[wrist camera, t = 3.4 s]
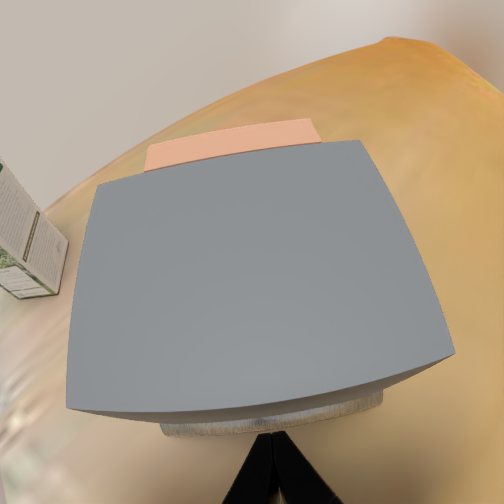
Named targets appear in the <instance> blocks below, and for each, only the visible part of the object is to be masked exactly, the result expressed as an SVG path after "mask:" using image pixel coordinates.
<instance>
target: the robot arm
mask: <svg viewBox="0 0 504 504" xmlns="http://www.w3.org/2000/svg"><path fill="white" fill-rule="evenodd" d="M279 487H280V489H279ZM280 491H281V495H282V499H283V502H284V504H344V503H343V502H342V501H341V500H340V499H339V498H338V496H336V494H335V493H334V492H333V491H332V490H331V488H330V487H329V486H328V485H327V484H326V482H325V481H324V480H323V479H322V478H321V476H320V475H319V474H318V473H317V471H316V470H315V469H314V468H313V467H312V465H311V464H310V463H309V462H308V460H307V459H306V458H305V457H304V455H303V454H302V453H301V451H300V450H299V449H298V448H297V446H296V445H295V444H294V442H293V441H292V440H291V439H290V437H289V436H288V435H287V433H286V432H285V431H278V432H273V433H272V434H271V433H263V434H259V435H258V436H257V438H256V440H255V442H254V444H253V446H252V448H251V450H250V452H249V454H248V456H247V458H246V460H245V462H244V463H243V465H242V467H241V469H240V471H239V473H238V475H237V477H236V479H235V480H234V482H233V484H232V486H231V488H230V490H229V491H228V493H227V495H226V497H225V498H224V500H223V502H222V504H279V501H280Z"/></svg>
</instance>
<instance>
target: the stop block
mask: <svg viewBox="0 0 504 504" xmlns="http://www.w3.org/2000/svg"><path fill="white" fill-rule="evenodd" d="M318 143H321V140H320V138H319V136H318V134H317V132H316V130H315V128H314V126H313V124H312V122H311V120H310V118H307V119H297V120H287V121H278V122H270V123H263V124H255V125H249V126H242V127H236V128H230V129H224V130H218V131H213V132H207V133H202V134H197V135H192V136H187V137H183V138H178V139H174V140H169V141H165V142H161V143H157V144H152V145H149V147H148V152H147V158H146V163H145V168H144V173H146V172H150V171H154V170H159V169H163V168H167V167H172V166H177V165H181V164H186V163H191V162H196V161H201V160H207V159H212V158H217V157H223V156H229V155H235V154H241V153H247V152H254V151H260V150H268V149H275V148H282V147H290V146H299V145H308V144H318Z"/></svg>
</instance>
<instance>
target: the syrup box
mask: <svg viewBox="0 0 504 504" xmlns="http://www.w3.org/2000/svg"><path fill="white" fill-rule="evenodd" d="M68 243H69V242H68V240H67V239H66V238H65V237H64V236H63V235H62V233H61V232H60V231H59V230H58V229H57V228H56V227H55V226H54V225H53V224H52V222H51V221H50V220H49V219H48V218H47V217H46V216H45V214H44V213H43V212H42V211H41V210H40V209H39V207H38V206H37V205H36V204H35V203H34V201H33V200H32V199H31V197H30V196H29V195H28V194H27V192H26V191H25V190H24V188H23V187H22V186H21V185H20V183H19V182H18V181H17V179H16V178H15V177H14V175H13V174H12V173H11V171H10V170H9V168H8V167H7V166H6V164H5V163H4V161H3V160H2V159H1V157H0V287H2V288H3V289H5V290H6V291H7V292H9V293H10V294H11V295H13V296H14V297H16V298H17V299H24V298H30V297H38V296H46V295H54V294H57V293H58V290H59V285H60V281H61V276H62V271H63V266H64V261H65V257H66V252H67V247H68Z"/></svg>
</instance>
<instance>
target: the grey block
mask: <svg viewBox="0 0 504 504" xmlns="http://www.w3.org/2000/svg"><path fill="white" fill-rule="evenodd" d="M454 354H455V349H454V346H453V342H452V339H451V336H450V333H449V330H448V326H447V323H446V320H445V317H444V315H443V312H442V309H441V306H440V303H439V300H438V298H437V295H436V292H435V290H434V287H433V285H432V282H431V279H430V277H429V274H428V272H427V270H426V267H425V265H424V262H423V260H422V258H421V255H420V253H419V251H418V248H417V246H416V244H415V242H414V240H413V237H412V235H411V233H410V231H409V229H408V227H407V225H406V223H405V220H404V218H403V216H402V214H401V212H400V210H399V208H398V206H397V204H396V203H395V201H394V199H393V197H392V195H391V193H390V191H389V189H388V187H387V186H386V184H385V182H384V180H383V178H382V176H381V175H380V173H379V171H378V169H377V168H376V166H375V164H374V162H373V161H372V159H371V157H370V156H369V154H368V152H367V151H366V149H365V147H364V146H363V144H362V142H361V141H360V140H353V141H339V142H328V143H318V144H308V145H299V146H290V147H282V148H275V149H268V150H260V151H254V152H247V153H241V154H235V155H229V156H223V157H217V158H212V159H207V160H201V161H196V162H191V163H186V164H181V165H177V166H172V167H167V168H163V169H159V170H154V171H150V172H146V173H142V174H137V175H133V176H129V177H126V178H122V179H118V180H114V181H110V182H107V183H103V184H100V185H98V186H97V190H96V193H95V197H94V200H93V204H92V208H91V212H90V216H89V220H88V224H87V228H86V232H85V237H84V241H83V246H82V251H81V256H80V261H79V266H78V272H77V278H76V284H75V290H74V297H73V305H72V312H71V321H70V331H69V342H68V356H67V376H66V408H68V409H73V410H77V411H82V412H87V413H92V414H97V415H103V416H109V417H115V418H122V419H129V420H136V421H145V422H154V423H164V424H197V423H213V422H225V421H236V420H245V419H254V418H261V417H269V416H275V415H282V414H288V413H294V412H299V411H305V410H310V409H315V408H320V407H324V406H329V405H334V404H338V403H342V402H346V401H350V400H354V399H358V398H362V397H366V396H369V395H371V394H374V393H376V392H378V391H381V390H383V389H385V388H388V387H390V386H392V385H394V384H397V383H399V382H401V381H403V380H405V379H407V378H409V377H412V376H414V375H416V374H418V373H420V372H422V371H424V370H426V369H428V368H430V367H431V366H433V365H435V364H437V363H439V362H441V361H443V360H445V359H446V358H448V357H450V356H452V355H454Z"/></svg>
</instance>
